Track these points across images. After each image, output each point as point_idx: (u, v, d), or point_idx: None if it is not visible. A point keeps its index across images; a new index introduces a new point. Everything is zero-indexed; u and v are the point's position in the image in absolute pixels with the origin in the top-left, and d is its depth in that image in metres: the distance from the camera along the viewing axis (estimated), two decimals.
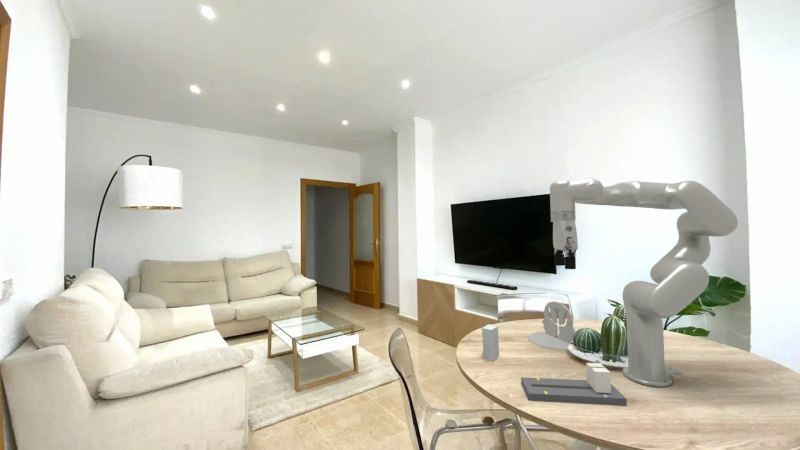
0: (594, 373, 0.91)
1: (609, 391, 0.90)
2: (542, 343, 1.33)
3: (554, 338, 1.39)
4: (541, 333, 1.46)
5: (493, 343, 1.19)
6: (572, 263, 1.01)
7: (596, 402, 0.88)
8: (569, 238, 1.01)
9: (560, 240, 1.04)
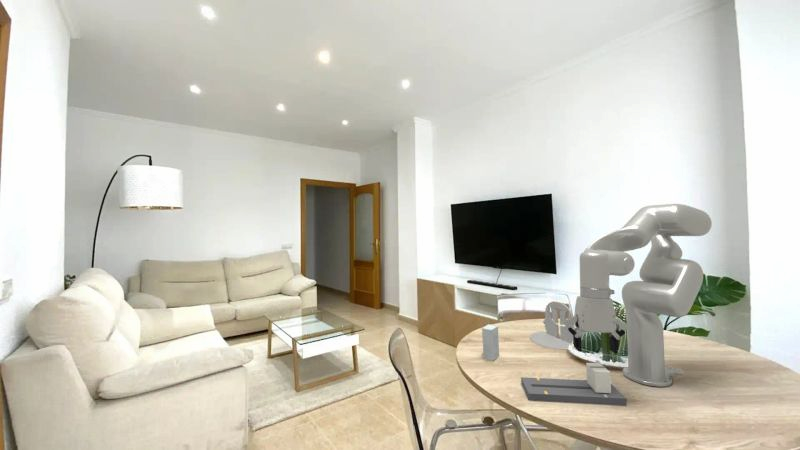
0: (594, 373, 0.91)
1: (609, 391, 0.90)
2: (543, 343, 1.33)
3: (555, 338, 1.39)
4: (542, 333, 1.46)
5: (493, 343, 1.19)
6: None
7: (596, 402, 0.88)
8: None
9: (611, 321, 0.90)
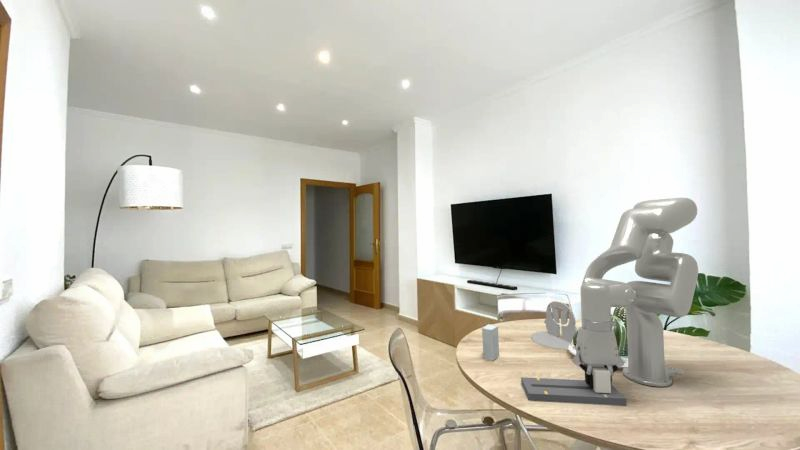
0: (594, 373, 0.91)
1: (609, 391, 0.90)
2: (544, 343, 1.34)
3: (556, 338, 1.39)
4: (543, 333, 1.46)
5: (493, 343, 1.19)
6: None
7: (596, 402, 0.88)
8: None
9: (613, 354, 0.90)
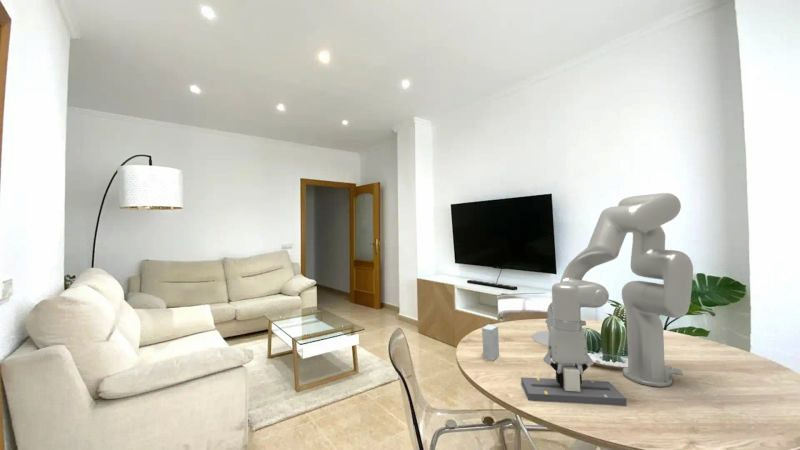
0: (564, 372, 0.92)
1: (578, 389, 0.91)
2: (546, 342, 1.34)
3: None
4: (544, 332, 1.46)
5: (493, 343, 1.19)
6: None
7: (596, 402, 0.88)
8: None
9: (582, 353, 0.92)
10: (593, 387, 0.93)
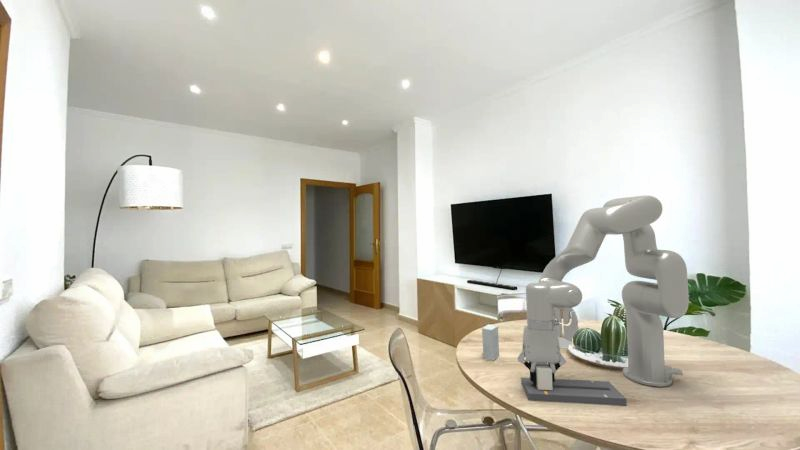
0: (537, 371, 0.93)
1: (551, 388, 0.92)
2: None
3: (558, 337, 1.40)
4: None
5: (493, 343, 1.19)
6: None
7: (596, 402, 0.88)
8: None
9: (555, 352, 0.93)
10: (593, 387, 0.93)
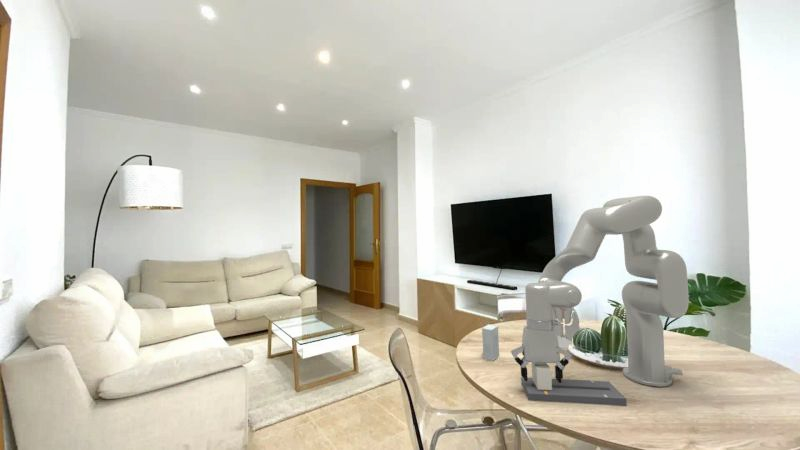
0: (536, 371, 0.93)
1: (550, 388, 0.92)
2: None
3: (560, 337, 1.40)
4: None
5: (493, 343, 1.19)
6: None
7: (596, 402, 0.88)
8: None
9: (554, 352, 0.93)
10: (593, 387, 0.93)
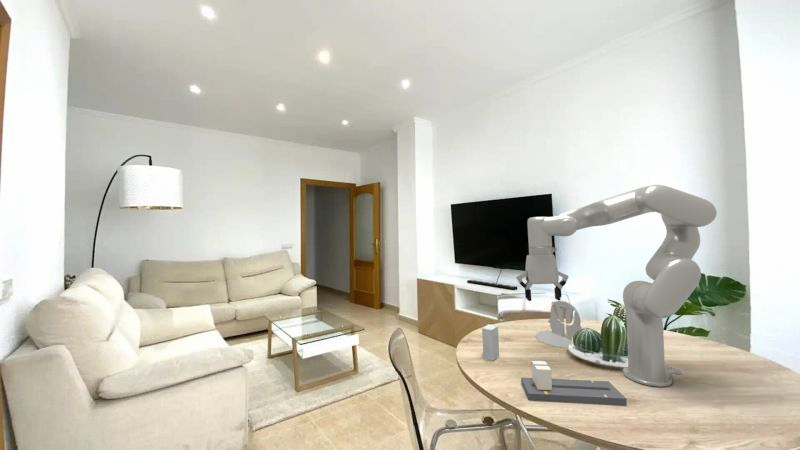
0: (536, 371, 0.93)
1: (550, 388, 0.92)
2: (550, 342, 1.34)
3: (561, 337, 1.40)
4: (548, 332, 1.47)
5: (493, 343, 1.19)
6: None
7: (596, 402, 0.88)
8: (557, 271, 1.09)
9: (554, 274, 1.07)
10: (593, 387, 0.93)
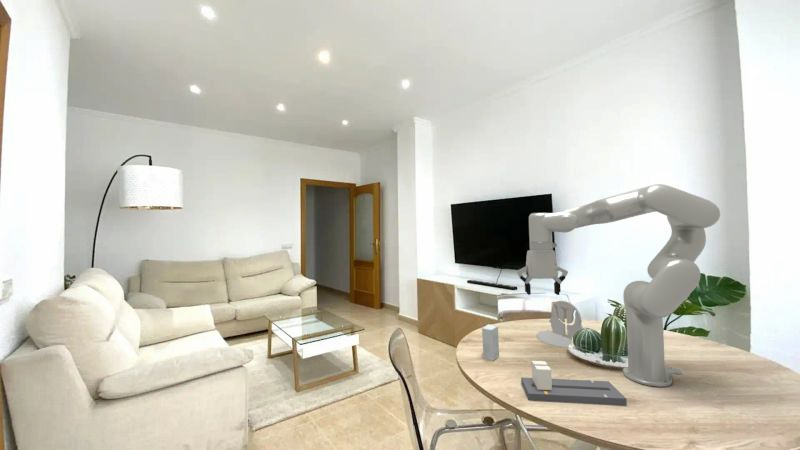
0: (536, 371, 0.93)
1: (550, 388, 0.92)
2: (551, 342, 1.35)
3: (562, 337, 1.40)
4: (548, 332, 1.47)
5: (493, 343, 1.19)
6: None
7: (596, 402, 0.88)
8: (557, 266, 1.12)
9: (553, 269, 1.10)
10: (593, 387, 0.93)
